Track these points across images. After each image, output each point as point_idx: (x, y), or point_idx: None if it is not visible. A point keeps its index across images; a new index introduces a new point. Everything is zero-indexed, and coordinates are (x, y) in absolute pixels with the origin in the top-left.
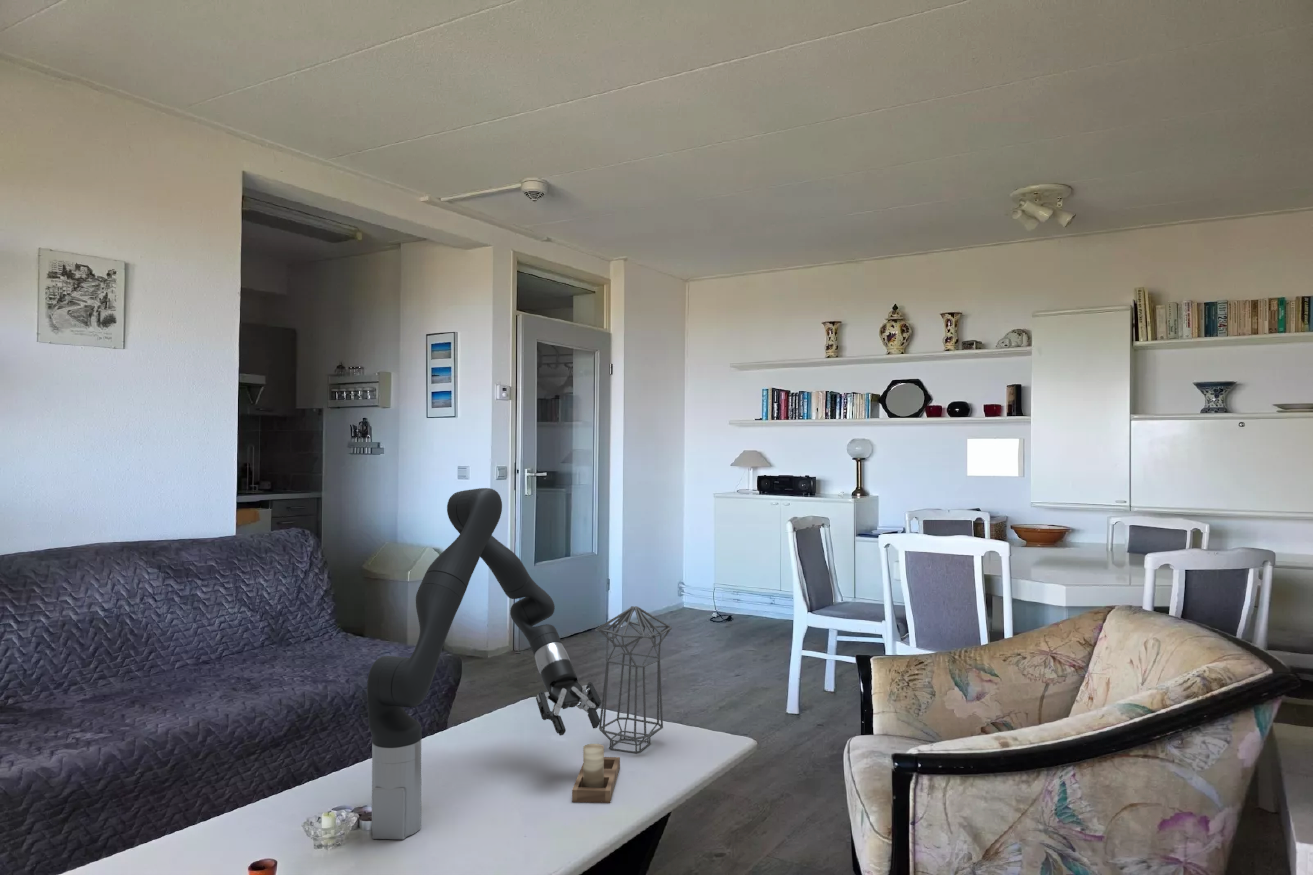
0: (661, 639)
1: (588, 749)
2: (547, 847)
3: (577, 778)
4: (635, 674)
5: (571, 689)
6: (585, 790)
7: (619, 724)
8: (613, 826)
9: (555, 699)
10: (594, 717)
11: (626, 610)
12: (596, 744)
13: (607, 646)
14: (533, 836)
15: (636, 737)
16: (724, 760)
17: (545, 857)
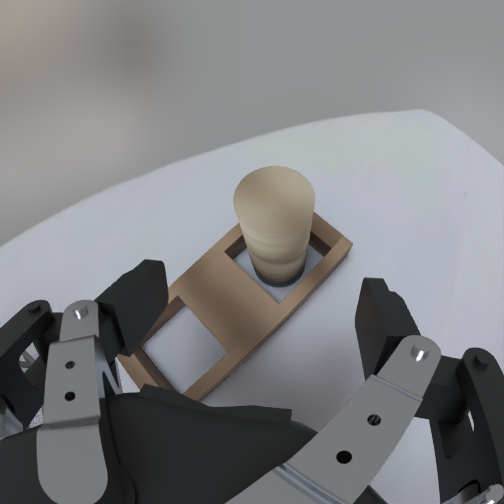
0: None
1: (305, 189)
2: (444, 148)
3: (297, 301)
4: None
5: (106, 495)
6: (326, 222)
7: None
8: (334, 133)
9: (378, 497)
10: (143, 274)
11: None
12: (246, 211)
13: None
14: (455, 184)
15: (33, 362)
16: (20, 235)
17: (450, 134)
